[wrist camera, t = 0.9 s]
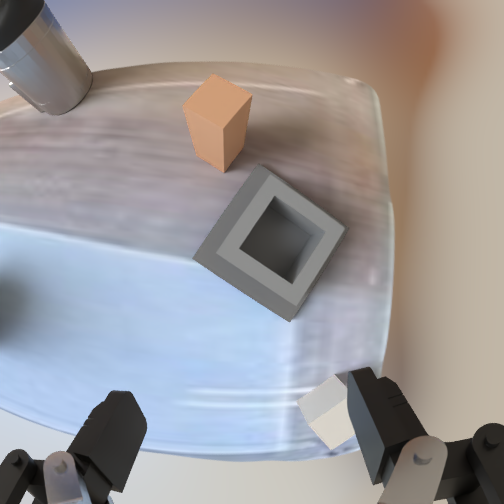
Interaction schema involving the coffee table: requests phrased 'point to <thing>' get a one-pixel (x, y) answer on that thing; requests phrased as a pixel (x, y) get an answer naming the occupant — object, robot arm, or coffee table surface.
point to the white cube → (328, 412)
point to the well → (272, 243)
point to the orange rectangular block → (218, 120)
